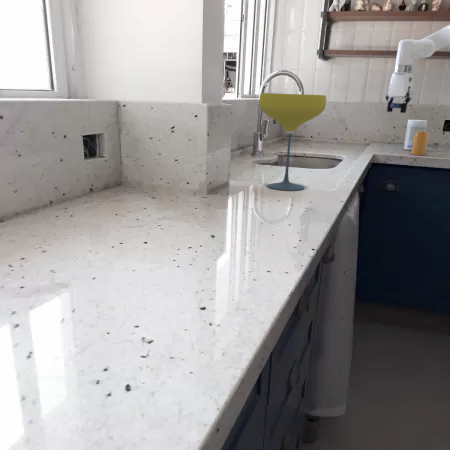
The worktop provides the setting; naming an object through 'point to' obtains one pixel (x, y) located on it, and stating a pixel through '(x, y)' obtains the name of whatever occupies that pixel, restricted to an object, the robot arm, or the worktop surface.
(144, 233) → the worktop surface
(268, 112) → the cocktail glass
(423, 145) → the honey jar
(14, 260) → the worktop surface
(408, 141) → the supplement tub
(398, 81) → the robot arm
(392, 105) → the jar lid
